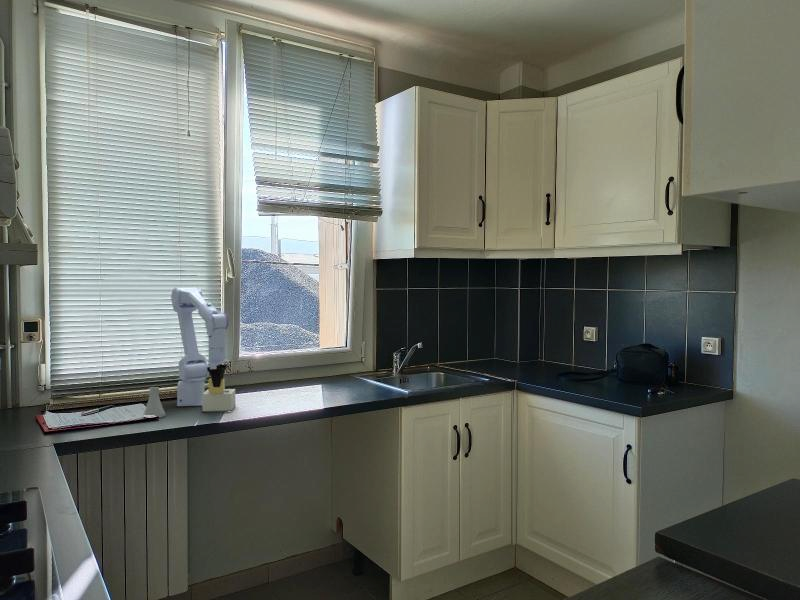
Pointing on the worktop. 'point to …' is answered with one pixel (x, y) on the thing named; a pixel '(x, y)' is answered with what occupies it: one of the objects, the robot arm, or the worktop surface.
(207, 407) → the box
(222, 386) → the block
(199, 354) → the robot arm
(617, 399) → the worktop surface
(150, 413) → the flask
